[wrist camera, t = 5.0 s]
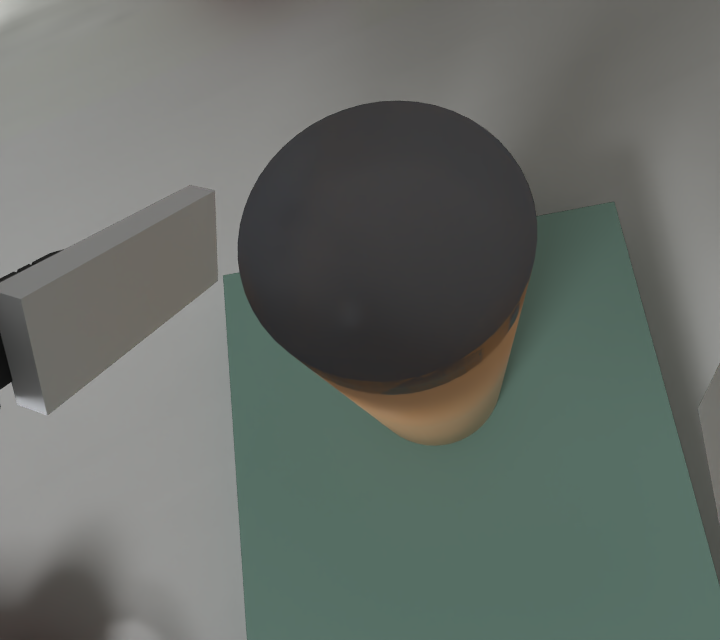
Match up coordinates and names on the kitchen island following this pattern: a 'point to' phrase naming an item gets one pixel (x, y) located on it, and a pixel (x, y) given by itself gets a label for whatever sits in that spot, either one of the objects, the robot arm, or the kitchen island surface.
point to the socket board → (480, 482)
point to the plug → (394, 262)
